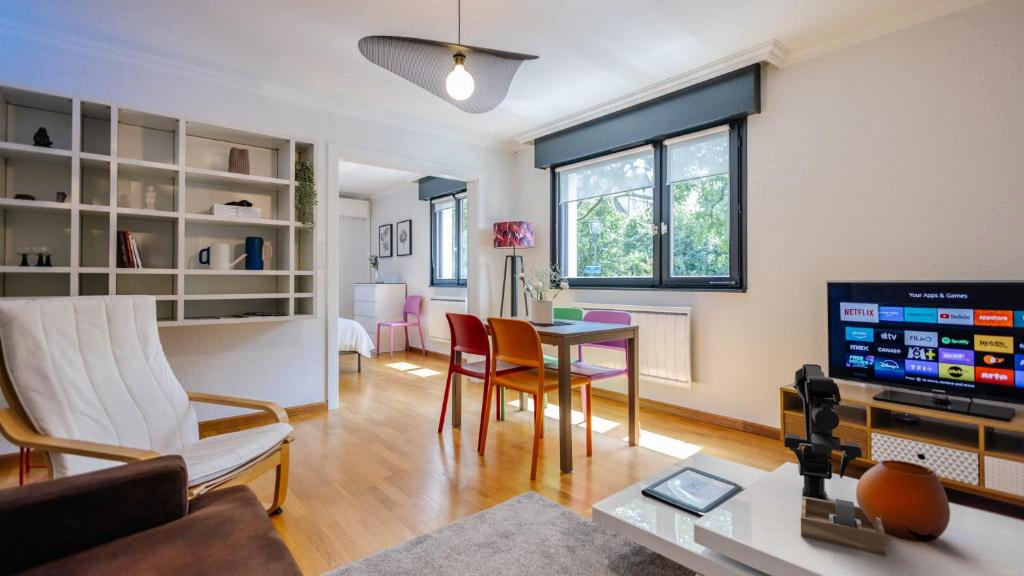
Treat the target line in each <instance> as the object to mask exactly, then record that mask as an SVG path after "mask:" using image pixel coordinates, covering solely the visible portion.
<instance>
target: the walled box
mask: <svg viewBox="0 0 1024 576" xmlns="http://www.w3.org/2000/svg"><path fill="white" fill-rule="evenodd" d="M854 507H855V528H854V527H849V526H844V525H840V524H836V506H835V501H829V500H824V499H819V498H813V497H808V496H803V495H802V496H801V508H800V509H801V510H800V537H801V538H805V539H809V540H813V541H819V542H822V543H829V544H833V545H836V546H839V547H840V546H841V547H845V548H849V549H853V550H859V551H862V552H867V553H871V554H876V555H879V556H880V555H881V556H885V557H886V556H887V539H886V537H887V536H886V532H885V528H884V525H883V522H882V519H880V518H881V517H880V518H878V517H876V521H875V526H873V524H872V523H871V522H870V521H869V520H868V518H867V517H866V515H865V514H864V513H863V511H862V509H861V508H860V507H861V506H856V505H854Z"/></svg>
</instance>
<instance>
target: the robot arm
mask: <svg viewBox="0 0 1024 576" xmlns="http://www.w3.org/2000/svg"><path fill="white" fill-rule="evenodd" d="M794 387H795V388H796V391H797V392H796V393H797V394H798V396H799V397H800V399H801V400H802V404H803V420H804V435H805V439H804V438H801V435H799V434H793V433H787V434H785V435H784V438H783V439H784V441H783V442H784V447H785V448H788V449H789V451H792V452H794V455H795V456H796V458H797V460H798V463H797V469H798V473H799V476H800V477H802V476H803V487H802V492H801V493H802V494H801V495H802V496H804V497H809V498H814V499H820V500H825V501H828V500H827V491H826V488H825V485H826V482H825V481H826V480H831V479H832V478H833V469H834V465H833V463H832V462H831V459H829V455H832V454H833V451H839V452H841V458H840V459H841V460H840V462H841V463H840V468H839V469H840V470H839V478H840V479H843V477H844V474H845V471H846V469H847V467H848V465H849V464H850V463H851V461H852V460H853V461H856V460H857V458H858V459H860V458H861V459H862V453H863V452H862V451H863V450H862V446H861V444H859V442H854V441H846V440H845V441H843V444H841V437H840V436H834V430H835V429H836V428H837V427H838V426H839V424H840V417H839V414H837V412H836V411H835V409H834V406H840V403H841V402H842V398H841V397H842V396H841V392H840V387H839V386H838V384H837V382H835V380H834V379H833V378H831V377H829V376H825V372H824V371H822V366H821V365H820V364H817V363H816V364H813V363H812V364H811V363H805V364H802V367H801V368H799V369H797V370H796V371H795V372H794ZM802 447H803V448H802ZM825 479H826V480H825Z"/></svg>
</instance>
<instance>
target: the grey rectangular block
mask: <svg viewBox="0 0 1024 576" xmlns="http://www.w3.org/2000/svg"><path fill="white" fill-rule="evenodd" d="M834 500H835V501H834V502H835V506H836V524H840V525H844V526H849V527H854V528H855V507H854V506H855V503H854V501H851V500H846V499H845V500H843V499H839V498H835V499H834Z"/></svg>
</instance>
